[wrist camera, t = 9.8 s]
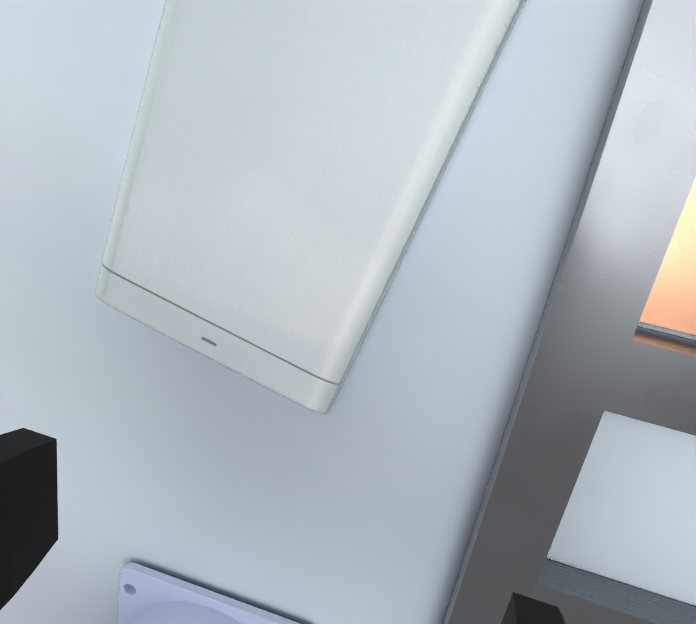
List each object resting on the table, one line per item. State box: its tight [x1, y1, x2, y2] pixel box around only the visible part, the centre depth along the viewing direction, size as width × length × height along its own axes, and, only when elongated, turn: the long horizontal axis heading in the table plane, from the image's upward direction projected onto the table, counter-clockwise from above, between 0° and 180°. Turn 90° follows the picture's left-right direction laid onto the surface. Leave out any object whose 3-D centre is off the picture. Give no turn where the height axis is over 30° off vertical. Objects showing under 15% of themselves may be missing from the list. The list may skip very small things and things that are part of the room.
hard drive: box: [95, 0, 526, 414], centre depth 17 cm, size 2×8×12 cm
